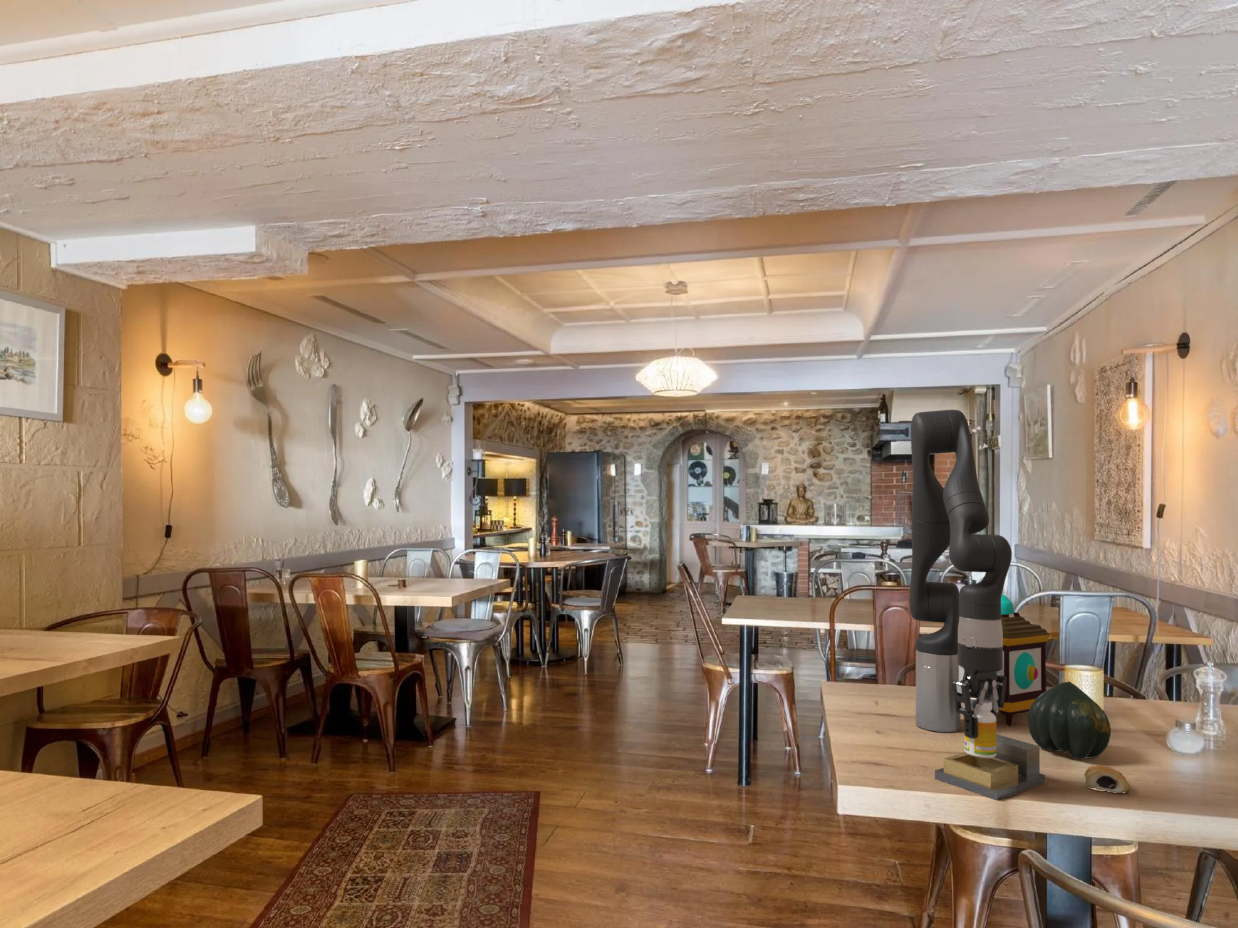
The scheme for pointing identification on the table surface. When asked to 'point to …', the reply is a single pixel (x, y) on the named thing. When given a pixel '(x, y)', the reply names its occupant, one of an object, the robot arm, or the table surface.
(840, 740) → the table surface
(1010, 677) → the decorative lantern
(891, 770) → the table surface
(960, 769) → the grey and tan tray
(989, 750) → the supplement bottle
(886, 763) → the table surface
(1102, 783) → the pastry
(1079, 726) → the squash
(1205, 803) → the table surface
